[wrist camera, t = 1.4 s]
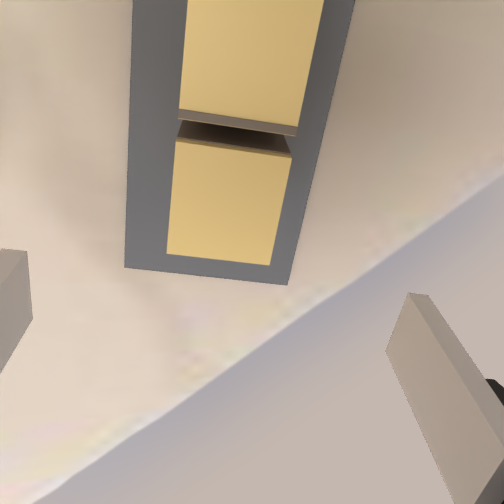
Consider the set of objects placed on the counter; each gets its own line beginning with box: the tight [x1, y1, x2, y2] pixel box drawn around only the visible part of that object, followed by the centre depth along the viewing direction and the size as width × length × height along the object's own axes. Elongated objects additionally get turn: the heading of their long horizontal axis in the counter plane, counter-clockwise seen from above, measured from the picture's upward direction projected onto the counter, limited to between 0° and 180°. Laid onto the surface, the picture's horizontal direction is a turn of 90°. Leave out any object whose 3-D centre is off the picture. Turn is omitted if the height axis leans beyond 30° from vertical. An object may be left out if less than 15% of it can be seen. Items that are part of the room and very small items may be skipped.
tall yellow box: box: [178, 0, 324, 136], centre depth 24 cm, size 9×6×12 cm, turn 171°
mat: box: [124, 0, 355, 285], centre depth 33 cm, size 26×14×1 cm, turn 171°
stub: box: [166, 119, 292, 265], centre depth 28 cm, size 6×6×12 cm
